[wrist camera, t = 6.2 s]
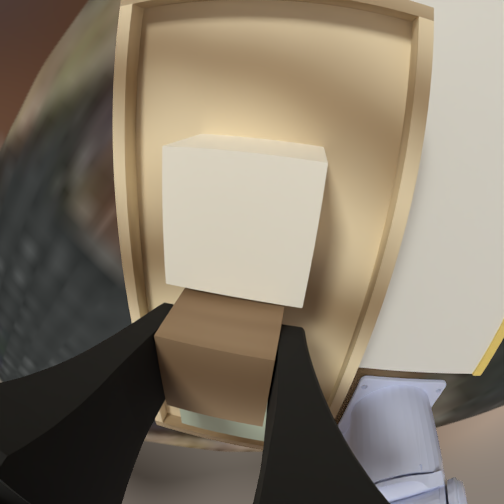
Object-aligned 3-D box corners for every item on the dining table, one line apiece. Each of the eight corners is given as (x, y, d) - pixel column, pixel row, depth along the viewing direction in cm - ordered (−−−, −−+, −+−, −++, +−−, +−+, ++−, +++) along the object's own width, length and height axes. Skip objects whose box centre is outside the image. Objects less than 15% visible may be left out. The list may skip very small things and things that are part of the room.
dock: (471, 352, 20) (481, 375, 18) (278, 331, 22) (274, 357, 20) (548, 24, 9) (570, 20, 6) (323, -60, 11) (324, -82, 8)
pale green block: (278, 392, 15) (269, 442, 12) (200, 377, 15) (182, 423, 13) (290, 335, 13) (282, 389, 10) (198, 318, 14) (173, 366, 11)
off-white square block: (306, 258, 11) (302, 308, 9) (198, 242, 12) (166, 283, 9) (323, 146, 10) (328, 163, 7) (201, 133, 10) (162, 146, 7)
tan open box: (318, 421, 18) (309, 516, 12) (171, 393, 20) (132, 476, 14) (409, 25, 8) (498, -36, 2) (157, 10, 10) (38, -34, 4)
